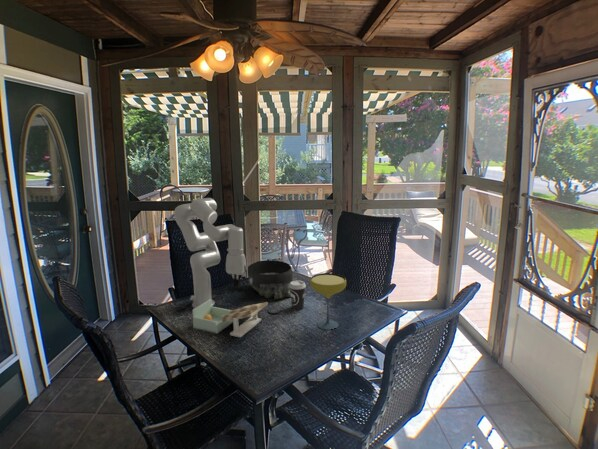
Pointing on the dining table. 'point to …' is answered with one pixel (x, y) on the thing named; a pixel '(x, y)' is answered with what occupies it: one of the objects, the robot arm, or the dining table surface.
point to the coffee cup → (297, 294)
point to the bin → (215, 323)
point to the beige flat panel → (244, 312)
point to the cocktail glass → (328, 292)
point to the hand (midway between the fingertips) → (237, 285)
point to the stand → (244, 326)
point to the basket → (271, 278)
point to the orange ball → (208, 317)
